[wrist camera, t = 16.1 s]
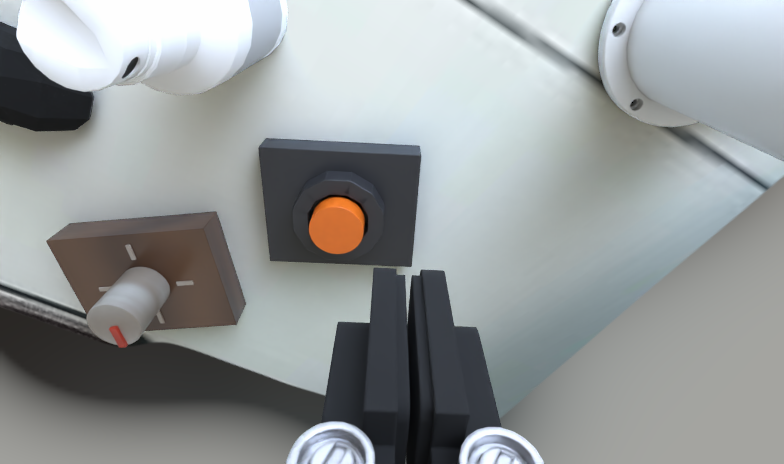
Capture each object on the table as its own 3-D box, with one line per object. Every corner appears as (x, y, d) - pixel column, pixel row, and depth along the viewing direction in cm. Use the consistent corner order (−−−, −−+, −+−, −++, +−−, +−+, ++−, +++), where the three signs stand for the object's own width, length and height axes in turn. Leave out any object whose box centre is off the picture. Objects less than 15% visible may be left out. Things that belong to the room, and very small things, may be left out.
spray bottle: (255, 81, 32) (125, 177, 17) (169, 14, 30) (-75, 51, 14) (309, 1, 30) (215, 24, 14) (218, -79, 27) (-12, -158, 12)
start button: (365, 197, 33) (363, 208, 31) (364, 243, 35) (362, 255, 33) (311, 195, 33) (307, 205, 31) (313, 241, 35) (309, 253, 33)
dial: (113, 268, 37) (73, 310, 32) (160, 264, 36) (126, 305, 32) (133, 306, 39) (98, 350, 34) (177, 301, 38) (147, 345, 34)
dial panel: (216, 211, 37) (202, 229, 35) (246, 303, 42) (236, 326, 40) (69, 223, 38) (44, 242, 35) (115, 313, 43) (96, 335, 40)
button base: (419, 145, 35) (422, 164, 31) (410, 253, 39) (412, 279, 36) (265, 138, 34) (251, 155, 31) (275, 247, 39) (264, 273, 36)
